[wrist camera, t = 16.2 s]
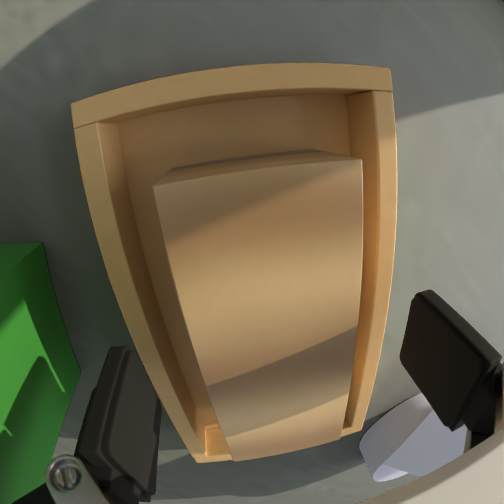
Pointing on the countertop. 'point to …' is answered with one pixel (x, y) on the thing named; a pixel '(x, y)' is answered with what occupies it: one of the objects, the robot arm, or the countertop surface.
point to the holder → (217, 148)
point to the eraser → (269, 290)
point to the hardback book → (30, 369)
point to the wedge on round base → (410, 441)
